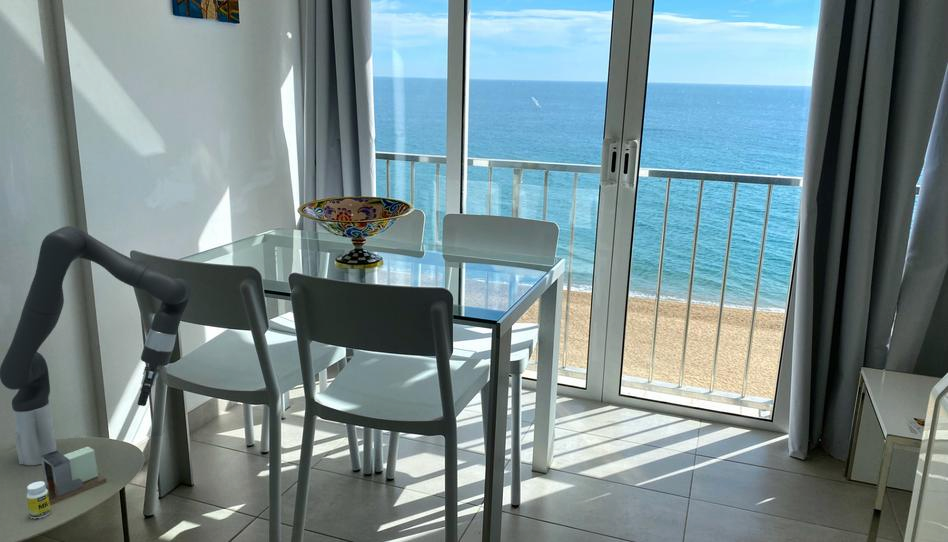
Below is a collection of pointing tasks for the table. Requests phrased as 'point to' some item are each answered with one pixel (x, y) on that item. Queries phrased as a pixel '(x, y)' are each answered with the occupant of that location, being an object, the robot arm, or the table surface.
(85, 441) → the table surface
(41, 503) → the supplement bottle
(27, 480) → the table surface
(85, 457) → the mint green block
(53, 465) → the base
